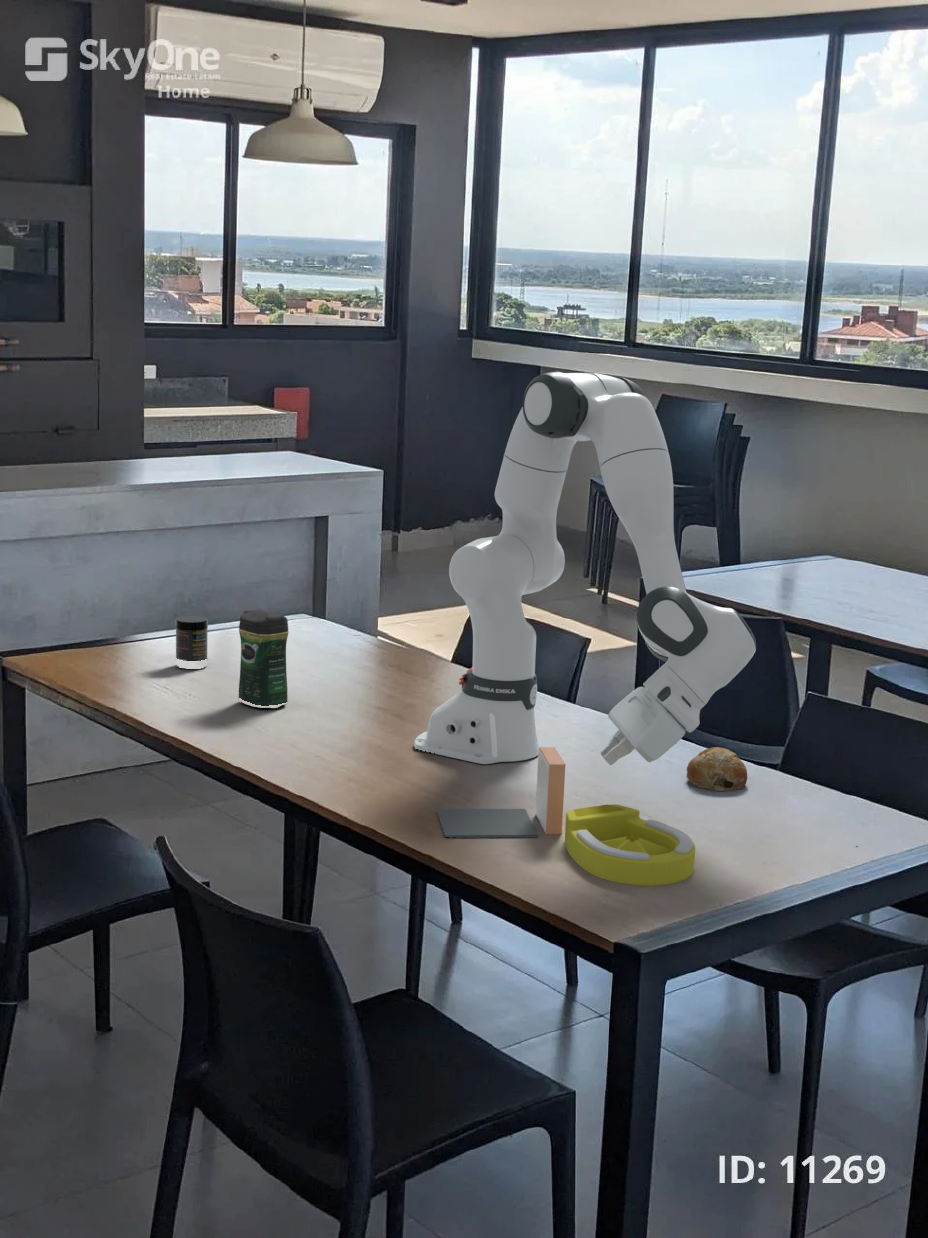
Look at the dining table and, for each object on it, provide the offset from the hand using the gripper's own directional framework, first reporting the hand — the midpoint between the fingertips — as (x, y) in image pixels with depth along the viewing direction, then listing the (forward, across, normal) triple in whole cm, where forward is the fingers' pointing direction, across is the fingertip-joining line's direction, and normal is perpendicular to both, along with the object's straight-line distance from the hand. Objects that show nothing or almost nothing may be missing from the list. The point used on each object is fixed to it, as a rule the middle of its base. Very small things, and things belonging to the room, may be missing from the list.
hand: (605, 759), depth 234 cm
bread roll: (-9, -21, +25) cm, 34 cm away
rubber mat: (+20, 0, -6) cm, 21 cm away
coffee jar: (+44, -71, -30) cm, 89 cm away
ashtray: (+8, +15, +8) cm, 19 cm away
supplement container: (+54, -102, -41) cm, 122 cm away
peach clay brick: (+13, 0, +1) cm, 13 cm away
